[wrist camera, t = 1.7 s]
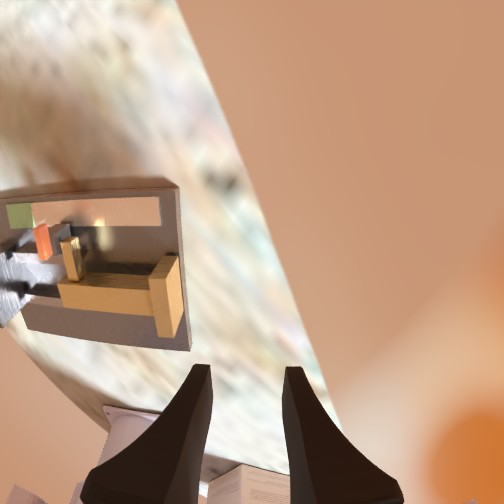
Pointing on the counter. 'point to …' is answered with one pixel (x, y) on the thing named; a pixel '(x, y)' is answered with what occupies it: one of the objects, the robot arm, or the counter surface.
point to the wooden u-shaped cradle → (124, 290)
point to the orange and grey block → (50, 239)
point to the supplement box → (249, 487)
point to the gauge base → (90, 260)
